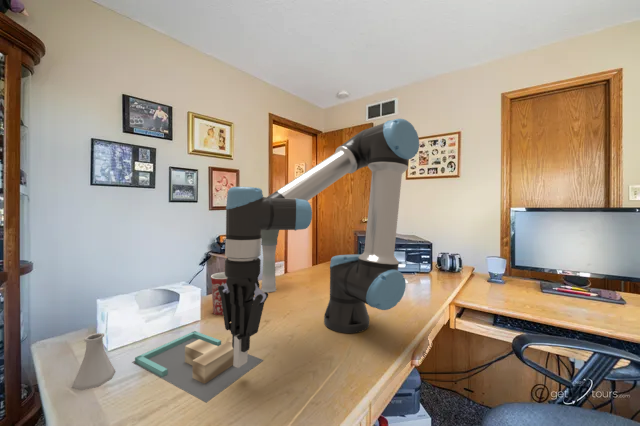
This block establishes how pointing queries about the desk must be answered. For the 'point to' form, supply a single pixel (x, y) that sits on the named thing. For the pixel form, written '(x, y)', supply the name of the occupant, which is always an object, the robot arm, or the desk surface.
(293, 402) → the desk surface
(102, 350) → the flask
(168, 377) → the mat
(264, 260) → the container
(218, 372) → the tee block
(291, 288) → the desk surface
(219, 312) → the mug
